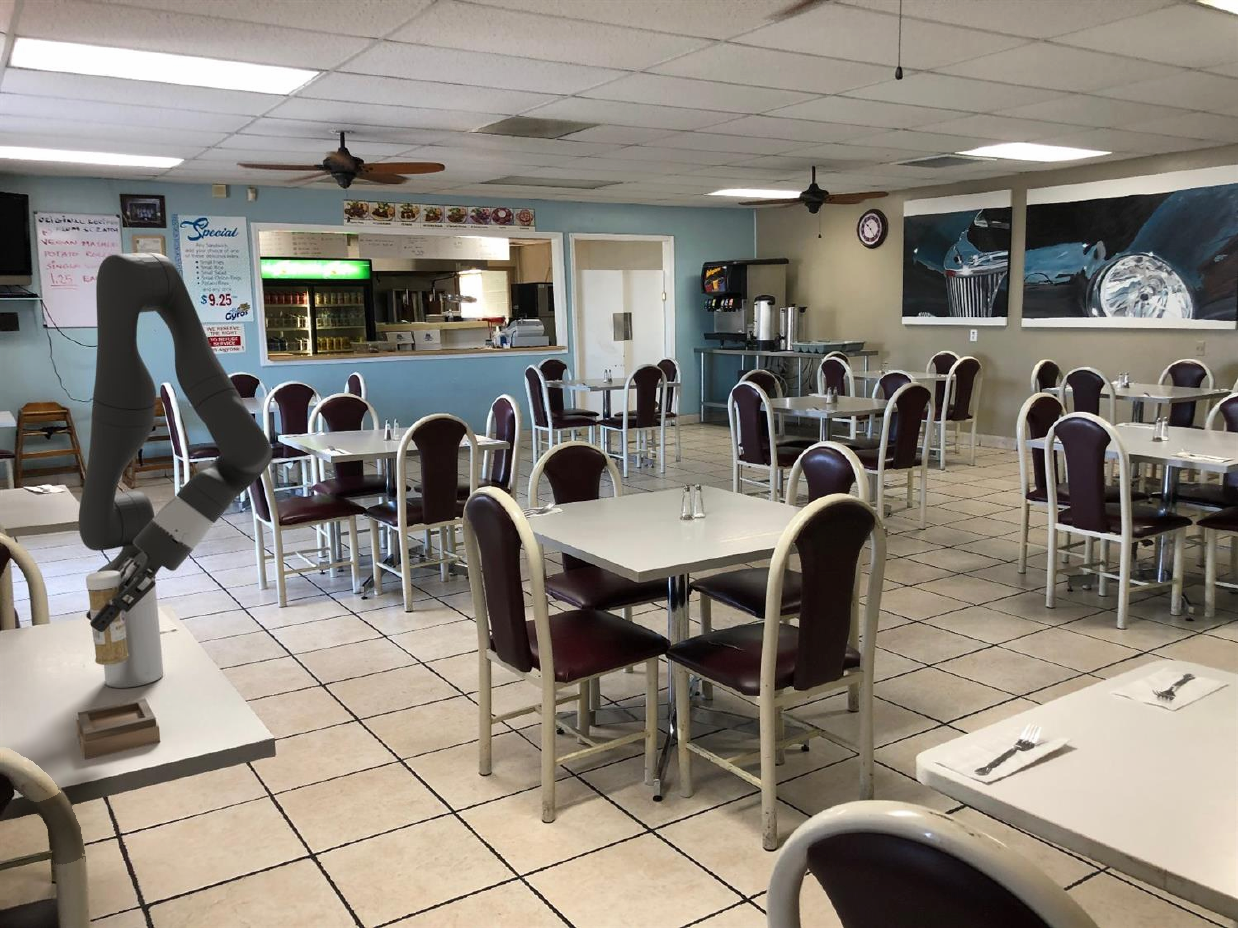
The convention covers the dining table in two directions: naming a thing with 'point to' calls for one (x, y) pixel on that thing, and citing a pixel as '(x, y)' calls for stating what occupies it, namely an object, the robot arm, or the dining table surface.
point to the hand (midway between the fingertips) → (93, 624)
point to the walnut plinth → (116, 728)
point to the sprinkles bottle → (114, 637)
